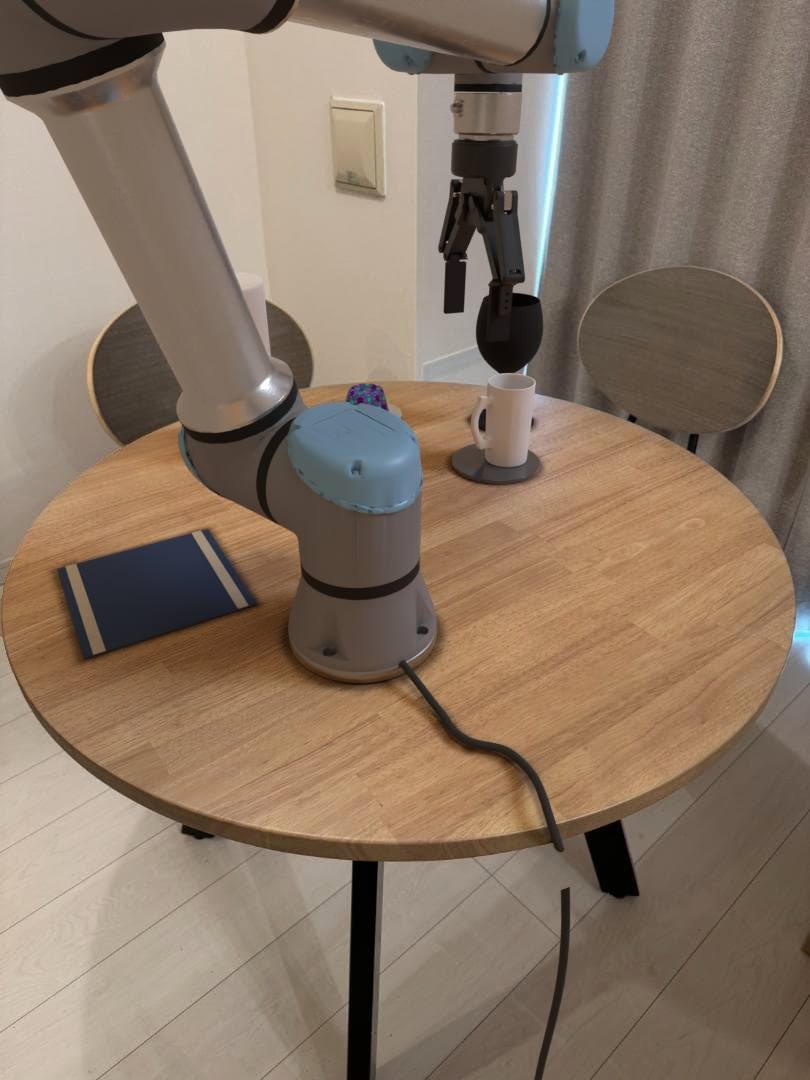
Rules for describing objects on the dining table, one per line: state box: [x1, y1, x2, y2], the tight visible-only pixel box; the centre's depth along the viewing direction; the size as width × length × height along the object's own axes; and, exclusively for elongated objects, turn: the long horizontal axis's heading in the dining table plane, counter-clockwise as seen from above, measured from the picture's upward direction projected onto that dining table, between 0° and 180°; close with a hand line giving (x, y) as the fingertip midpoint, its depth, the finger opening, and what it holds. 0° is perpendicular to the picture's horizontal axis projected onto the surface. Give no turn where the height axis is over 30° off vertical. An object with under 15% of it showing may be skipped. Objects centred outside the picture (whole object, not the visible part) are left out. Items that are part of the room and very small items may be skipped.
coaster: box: [451, 443, 541, 485], centre depth 110 cm, size 13×13×1 cm
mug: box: [470, 373, 537, 467], centre depth 106 cm, size 10×7×12 cm, turn 121°
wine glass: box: [475, 292, 544, 432], centre depth 118 cm, size 10×10×20 cm
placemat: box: [56, 528, 258, 660], centre depth 84 cm, size 18×18×1 cm
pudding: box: [345, 383, 403, 419], centre depth 123 cm, size 12×12×5 cm
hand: (474, 326), depth 95 cm, fingers open, 13 cm apart
